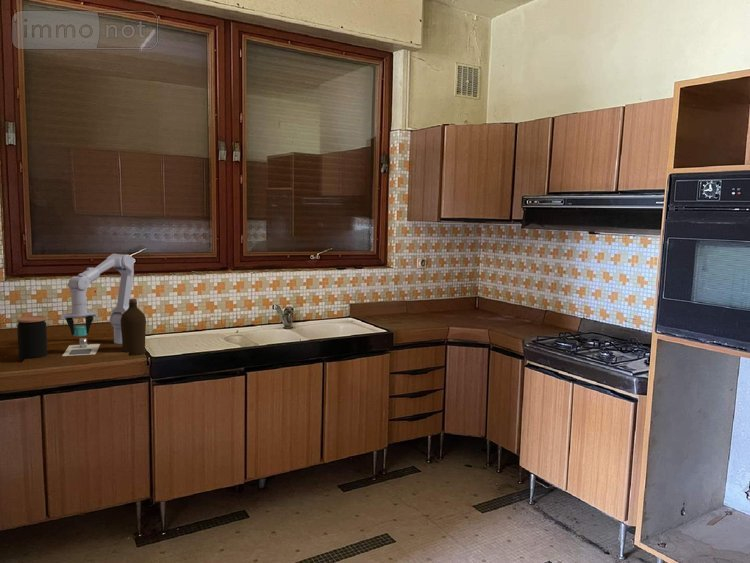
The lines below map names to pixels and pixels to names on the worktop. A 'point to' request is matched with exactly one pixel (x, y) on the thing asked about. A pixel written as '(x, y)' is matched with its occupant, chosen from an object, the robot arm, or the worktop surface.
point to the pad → (80, 351)
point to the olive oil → (133, 329)
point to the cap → (80, 330)
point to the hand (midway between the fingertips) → (80, 333)
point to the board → (76, 347)
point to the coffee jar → (32, 337)
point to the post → (83, 342)
